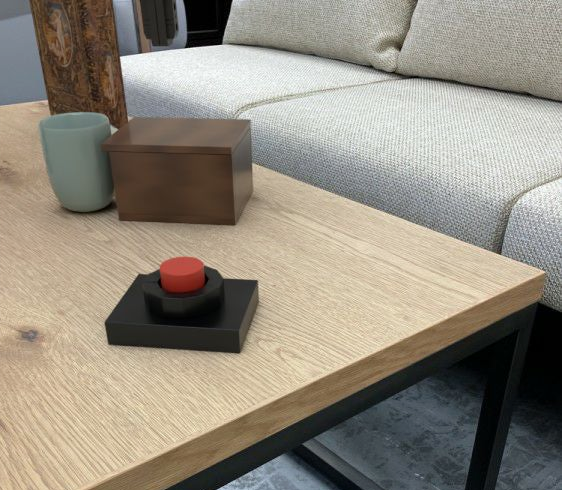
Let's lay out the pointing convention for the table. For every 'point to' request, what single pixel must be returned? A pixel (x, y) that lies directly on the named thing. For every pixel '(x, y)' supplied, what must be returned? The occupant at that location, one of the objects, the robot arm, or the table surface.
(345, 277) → the table surface
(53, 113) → the book
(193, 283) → the button
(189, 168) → the chest
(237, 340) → the black button base
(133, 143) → the lid
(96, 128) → the cup
